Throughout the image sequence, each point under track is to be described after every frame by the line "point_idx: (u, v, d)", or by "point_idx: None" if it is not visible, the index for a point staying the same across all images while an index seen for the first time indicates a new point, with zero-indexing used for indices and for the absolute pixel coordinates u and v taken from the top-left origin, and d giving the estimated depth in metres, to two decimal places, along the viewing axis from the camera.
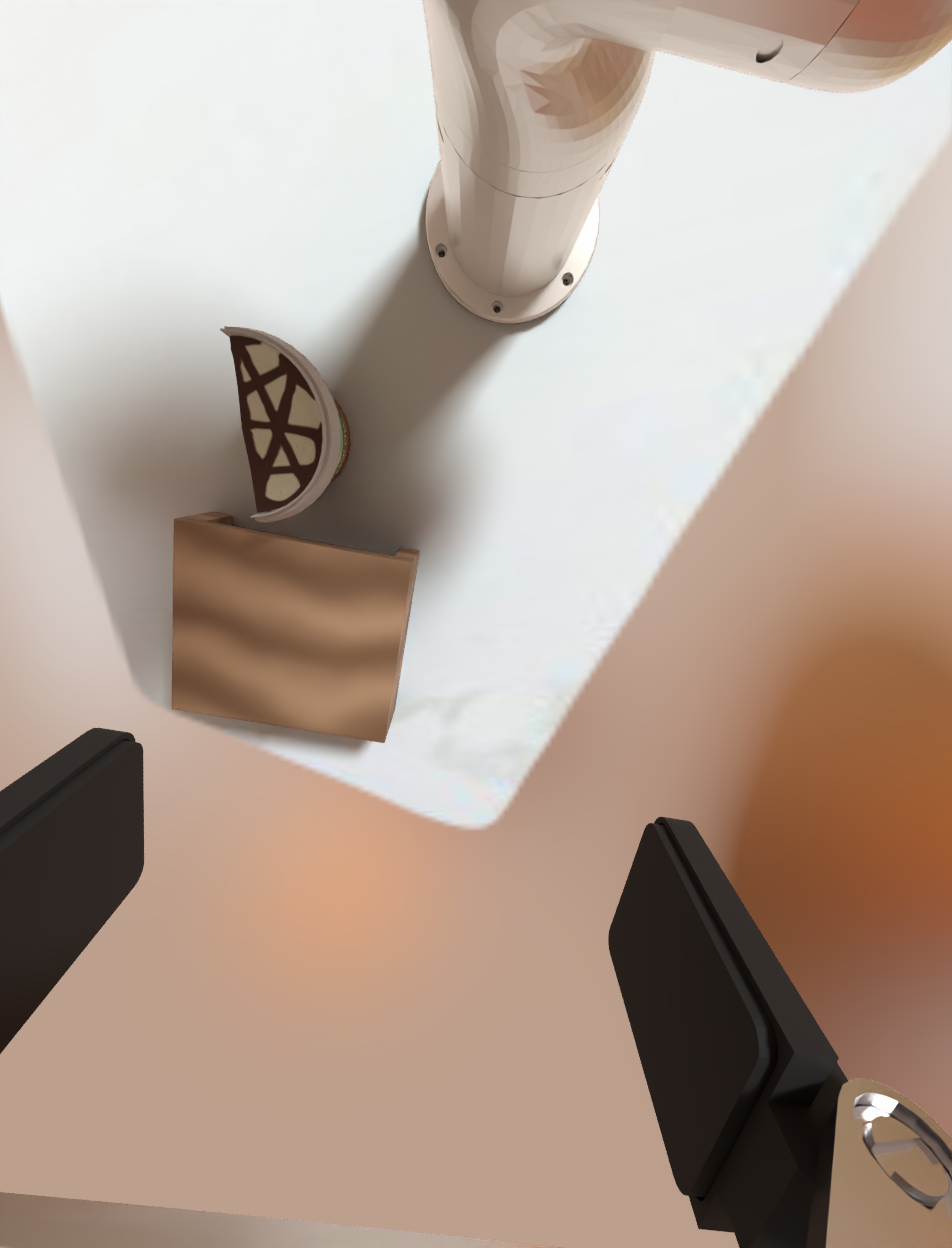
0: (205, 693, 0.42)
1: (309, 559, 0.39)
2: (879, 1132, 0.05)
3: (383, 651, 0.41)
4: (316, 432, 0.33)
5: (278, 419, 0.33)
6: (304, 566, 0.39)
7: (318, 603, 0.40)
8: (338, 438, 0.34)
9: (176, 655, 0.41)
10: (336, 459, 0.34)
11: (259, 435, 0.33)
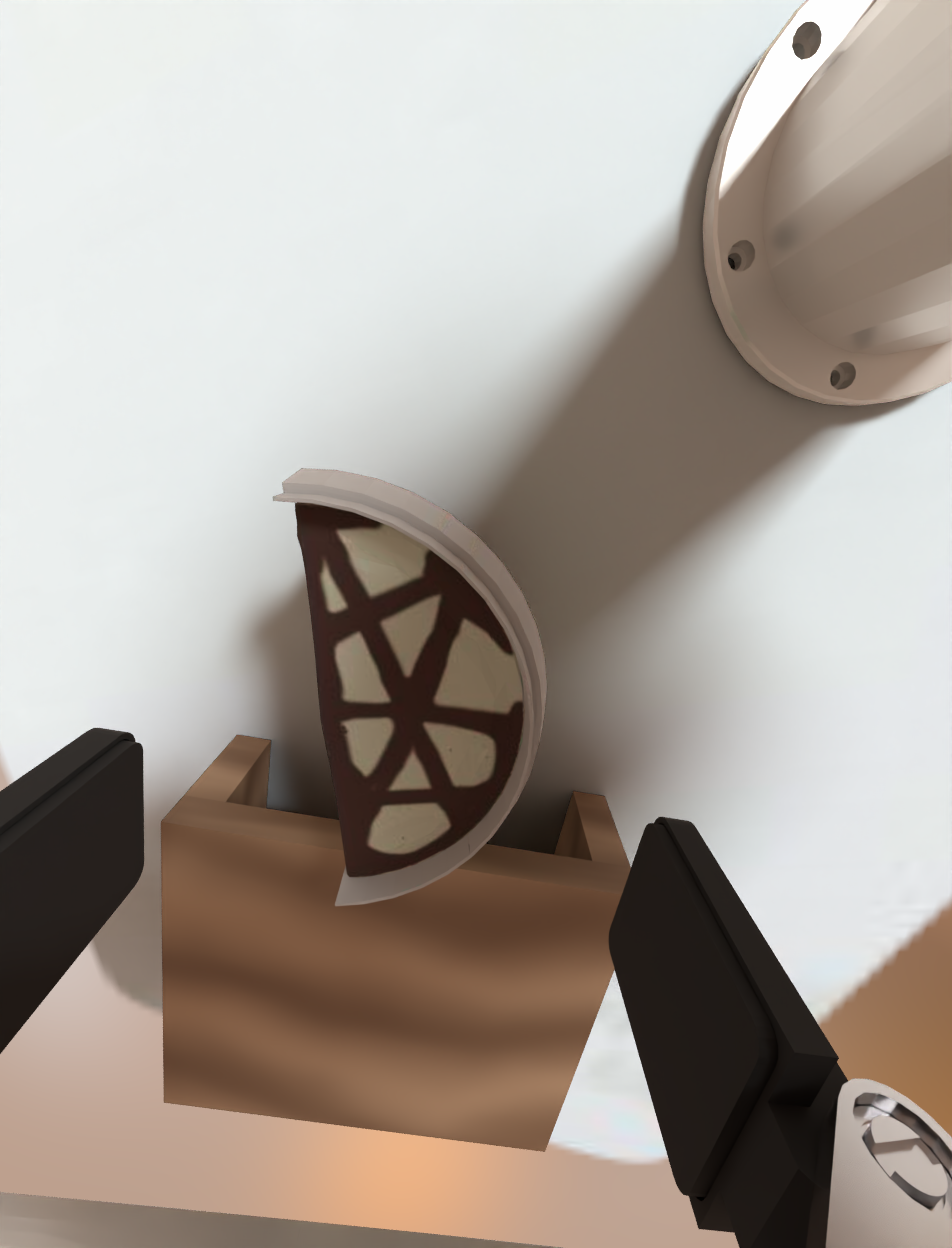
0: (225, 1082, 0.23)
1: (434, 889, 0.19)
2: (879, 1132, 0.05)
3: (563, 1029, 0.21)
4: (502, 721, 0.13)
5: (410, 694, 0.13)
6: (423, 901, 0.19)
7: (446, 958, 0.20)
8: (543, 717, 0.14)
9: (170, 1030, 0.22)
10: None
11: (363, 733, 0.13)
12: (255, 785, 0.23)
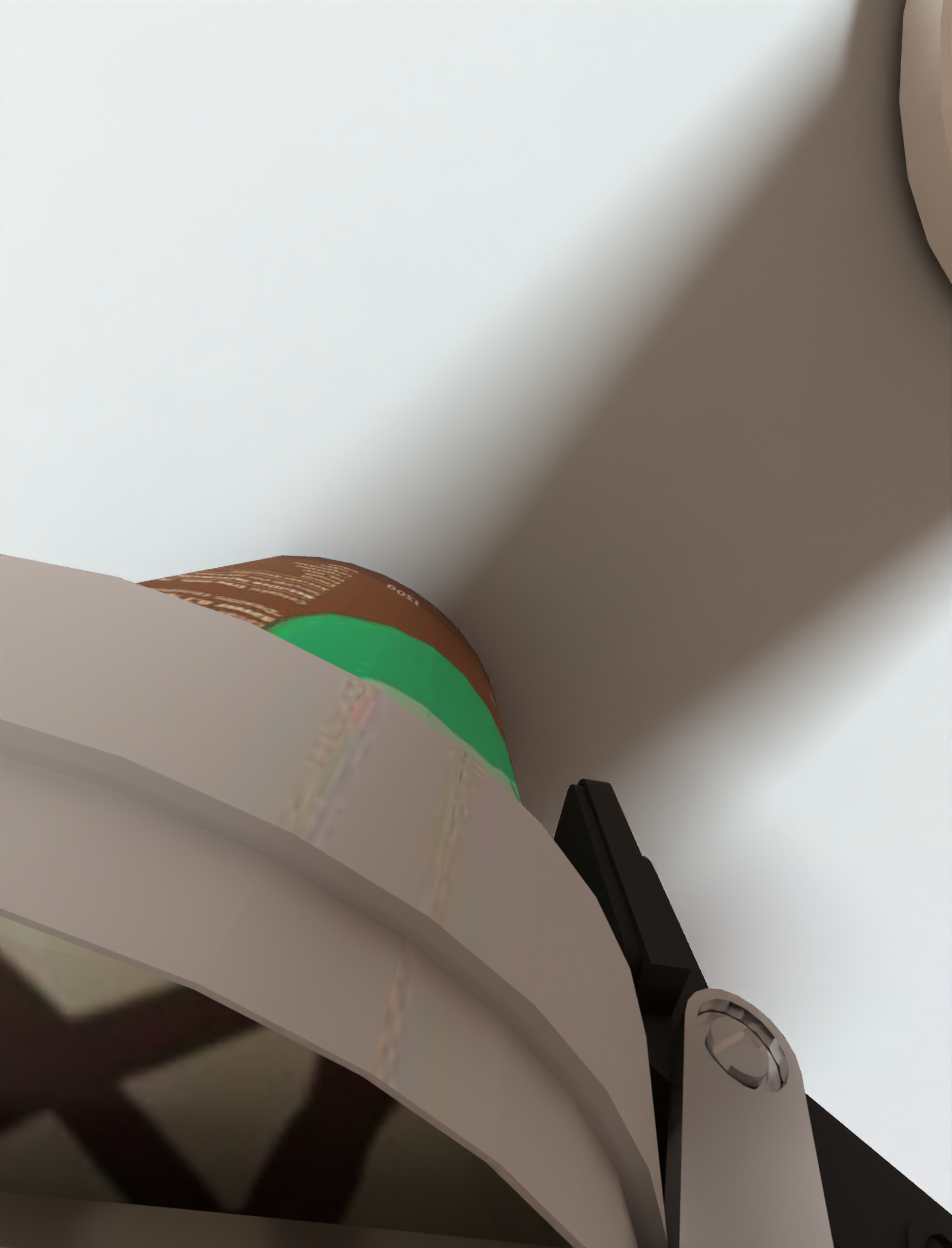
0: None
1: None
2: (717, 1034, 0.06)
3: None
4: None
5: None
6: None
7: None
8: None
9: None
10: None
11: None
12: None
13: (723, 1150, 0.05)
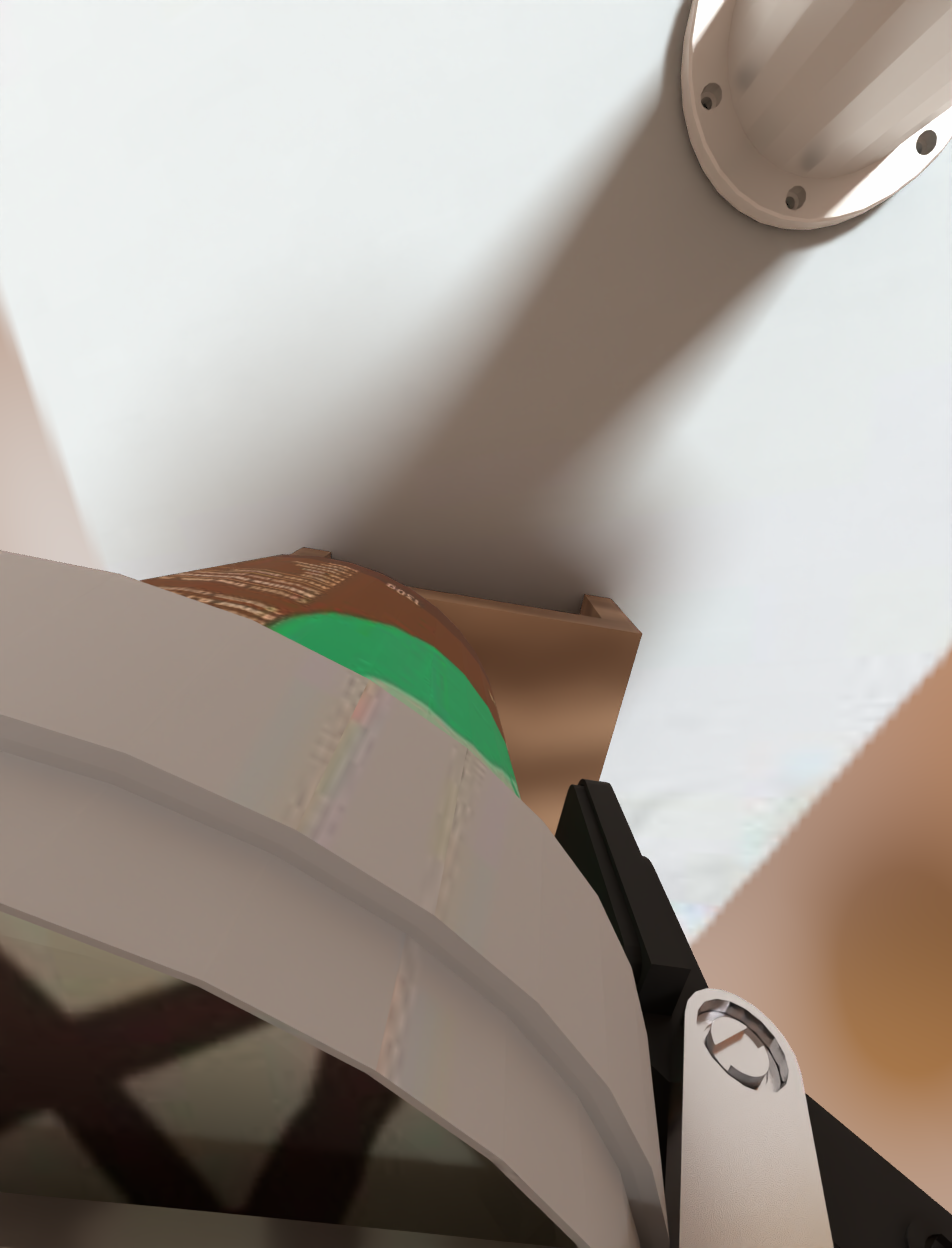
0: None
1: (475, 630, 0.24)
2: (717, 1034, 0.06)
3: (580, 765, 0.26)
4: None
5: None
6: None
7: None
8: None
9: None
10: None
11: None
12: None
13: (723, 1150, 0.05)
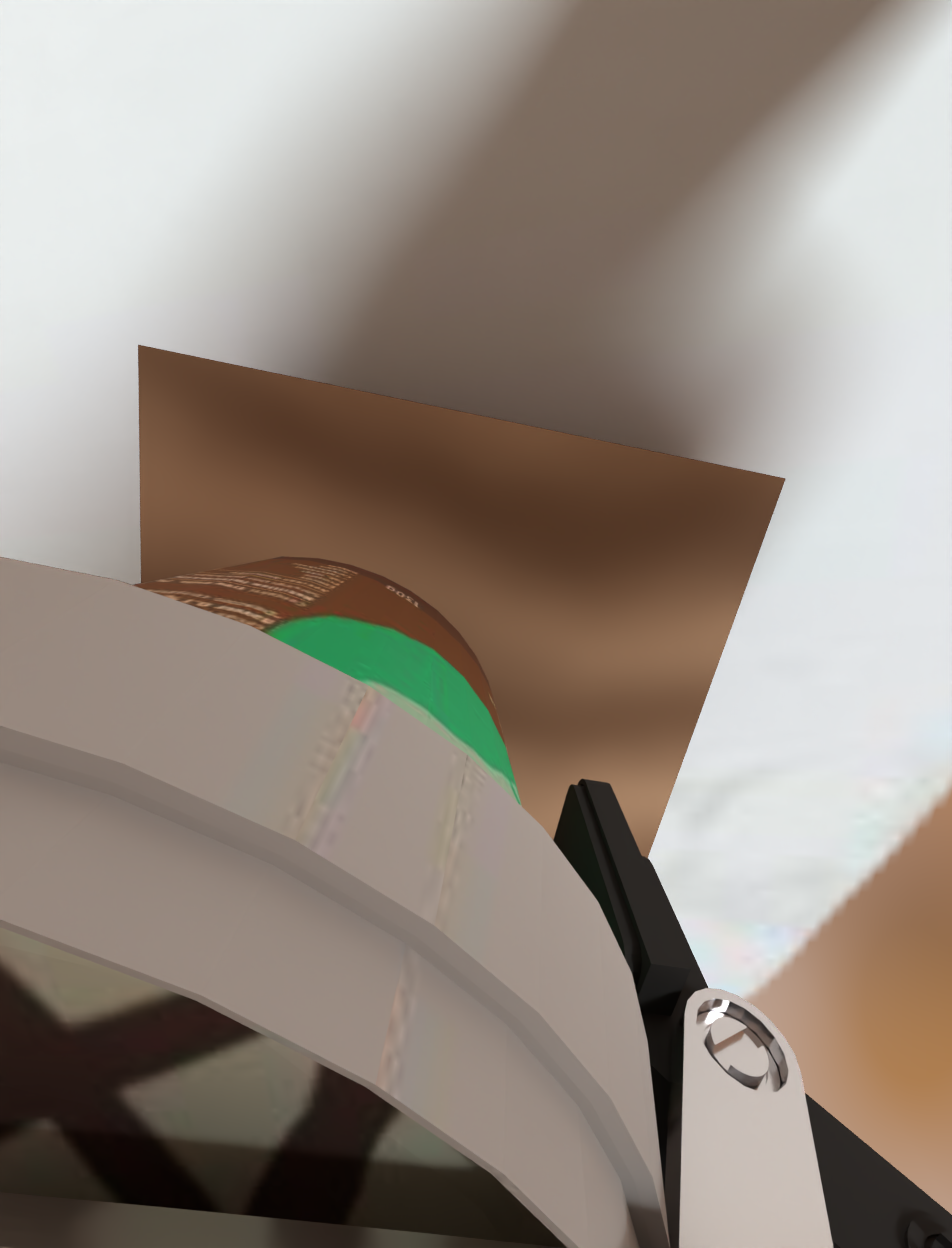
0: None
1: (509, 466, 0.14)
2: (717, 1034, 0.06)
3: (666, 708, 0.17)
4: None
5: None
6: (494, 487, 0.14)
7: (520, 589, 0.15)
8: None
9: None
10: None
11: None
12: None
13: (723, 1150, 0.05)
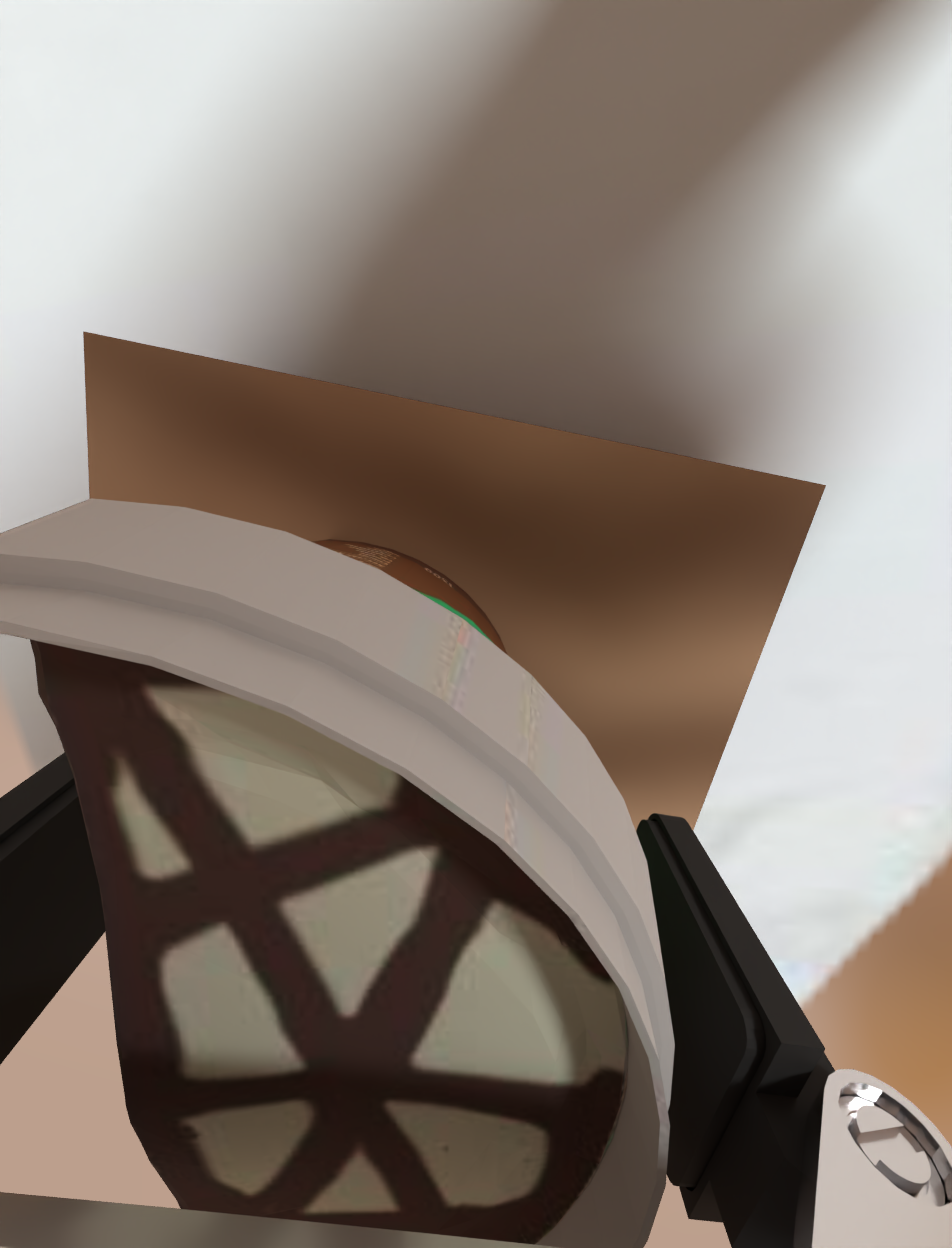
0: None
1: (512, 471, 0.12)
2: (864, 1121, 0.05)
3: (687, 742, 0.15)
4: (568, 1098, 0.06)
5: (355, 1050, 0.05)
6: (494, 495, 0.13)
7: (524, 610, 0.13)
8: None
9: None
10: None
11: (237, 1134, 0.05)
12: None
13: None
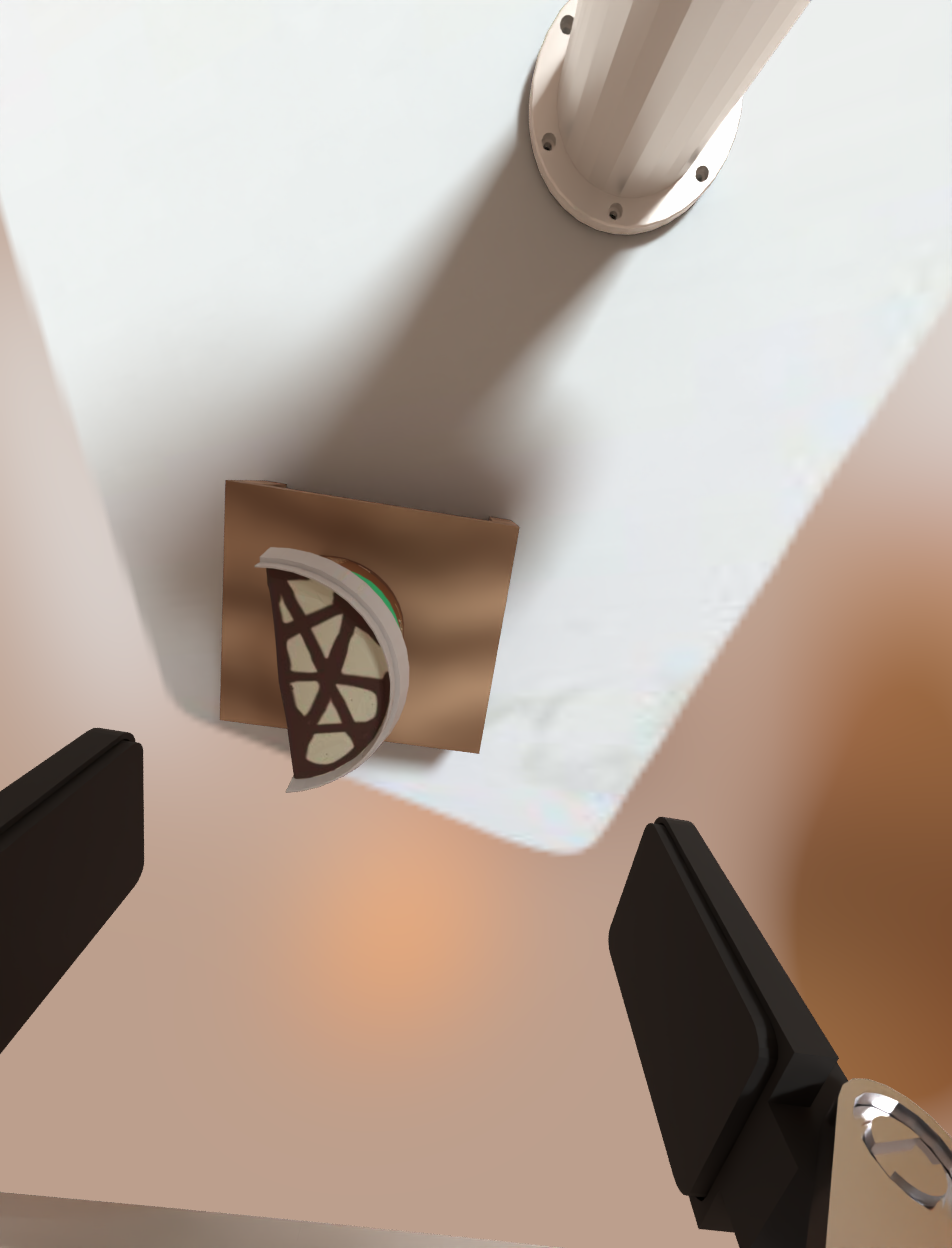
0: (261, 699, 0.34)
1: (392, 526, 0.31)
2: (879, 1132, 0.05)
3: (481, 639, 0.33)
4: (379, 683, 0.24)
5: (328, 668, 0.24)
6: (386, 535, 0.31)
7: (403, 582, 0.32)
8: (406, 683, 0.25)
9: (226, 653, 0.33)
10: (402, 707, 0.26)
11: (302, 689, 0.24)
12: None
13: None
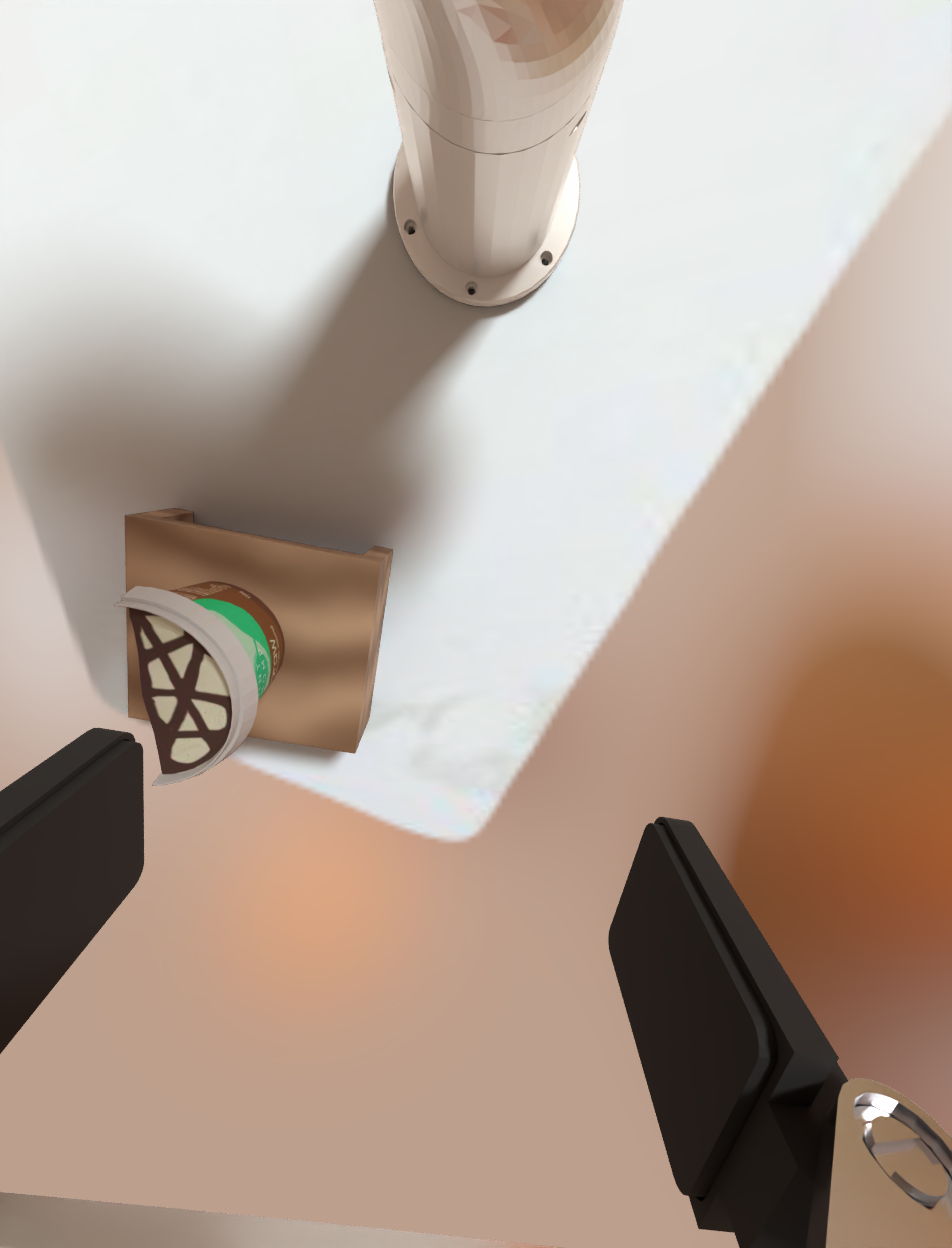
0: None
1: (271, 558, 0.36)
2: (879, 1132, 0.05)
3: (352, 656, 0.38)
4: (227, 699, 0.29)
5: (184, 686, 0.29)
6: (265, 566, 0.36)
7: (282, 606, 0.37)
8: (254, 699, 0.30)
9: (131, 660, 0.38)
10: (252, 718, 0.31)
11: (162, 703, 0.29)
12: None
13: None
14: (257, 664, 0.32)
